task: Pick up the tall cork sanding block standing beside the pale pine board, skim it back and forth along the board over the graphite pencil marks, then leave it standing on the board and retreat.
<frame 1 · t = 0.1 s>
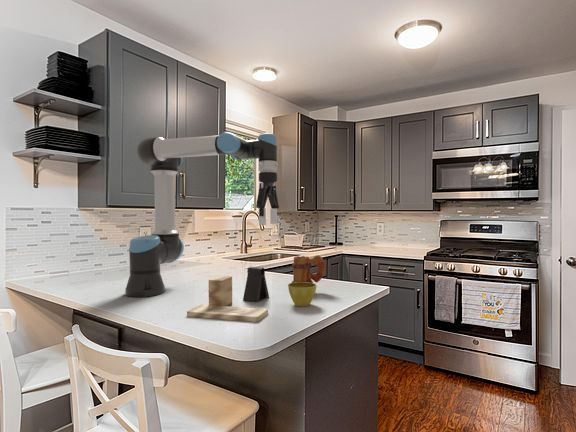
hand: (268, 224, 145), 28 cm above the countertop, fingers open, 13 cm apart
door stopper: (256, 299, 135), on the countertop
sanding block: (220, 306, 124), on the countertop
flower pot: (302, 305, 126), on the countertop
mug: (308, 291, 148), on the countertop
board: (227, 315, 114), on the countertop
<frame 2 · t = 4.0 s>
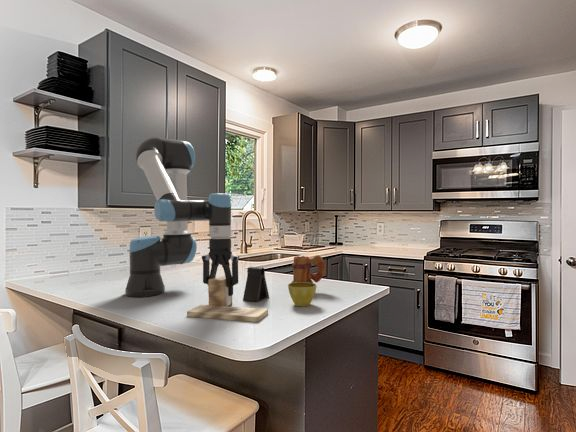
hand: (220, 304, 124), 1 cm above the countertop, fingers closed on sanding block, 5 cm apart
sanding block: (220, 306, 124), on the countertop, touching gripper
everything else where it was.
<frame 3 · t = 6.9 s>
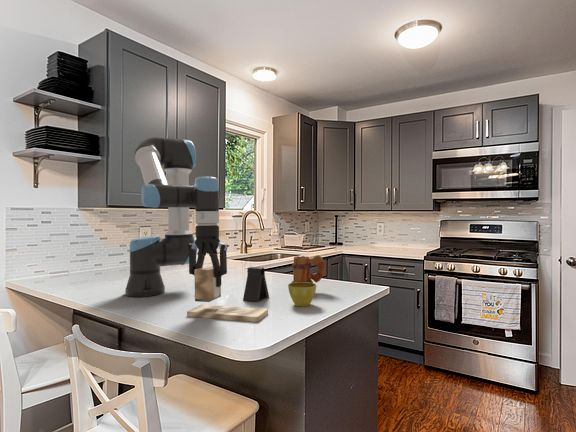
hand: (208, 296, 115), 6 cm above the countertop, fingers closed on sanding block, 5 cm apart
sanding block: (208, 298, 115), point 5 cm above the countertop, touching gripper
everything else where it was.
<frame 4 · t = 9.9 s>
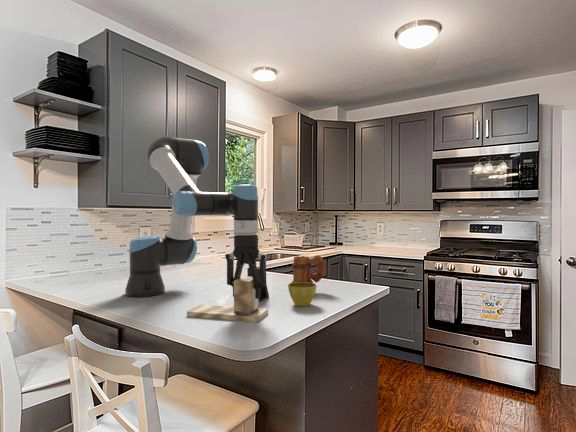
hand: (246, 307, 112), 3 cm above the countertop, fingers closed on sanding block, 5 cm apart
sanding block: (246, 310, 112), point 2 cm above the countertop, touching gripper
everything else where it was.
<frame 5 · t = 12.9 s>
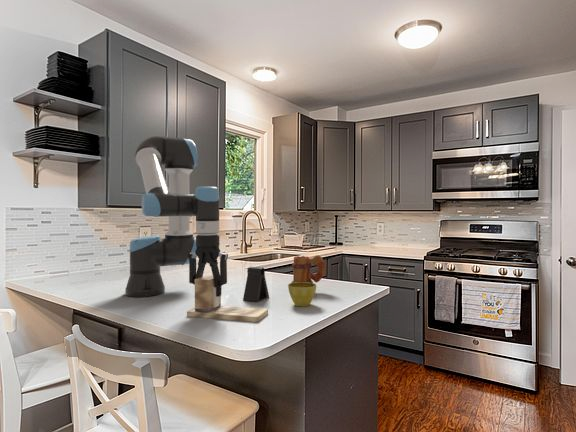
hand: (208, 305, 116), 3 cm above the countertop, fingers closed on sanding block, 5 cm apart
sanding block: (208, 308, 116), point 2 cm above the countertop, touching gripper
everything else where it was.
when the fingers open (3 cm above the countertop, at t = 15.9 s): sanding block stays where it is, resting on board.
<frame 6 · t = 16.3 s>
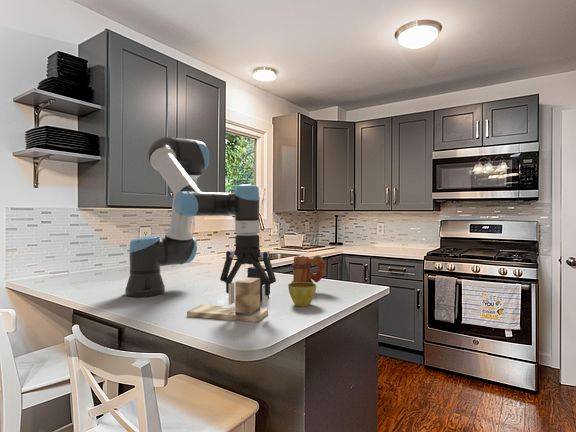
hand: (248, 304, 112), 4 cm above the countertop, fingers open, 10 cm apart
sanding block: (247, 311, 112), point 2 cm above the countertop, touching board
everything else where it was.
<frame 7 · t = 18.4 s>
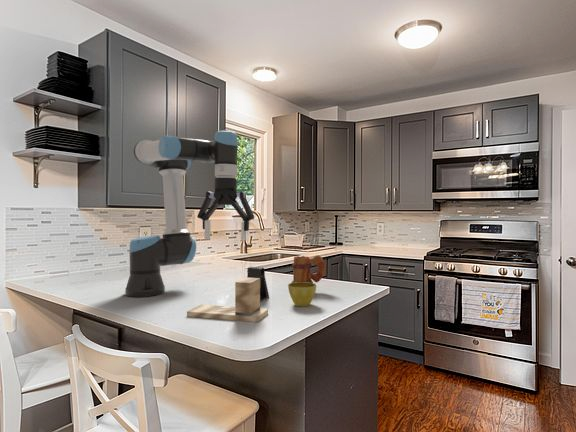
hand: (225, 239, 122), 23 cm above the countertop, fingers open, 13 cm apart
nothing on the countertop moved.
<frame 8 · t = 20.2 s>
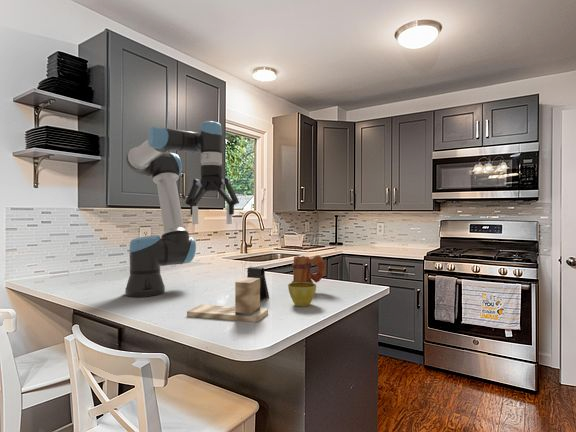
hand: (212, 224, 129), 29 cm above the countertop, fingers open, 13 cm apart
nothing on the countertop moved.
at the end: sanding block inside the target area on the board (6.5 cm from its centre), point 1.5 cm above the board's base; sanding block tilted 1°; the gripper is holding nothing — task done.
